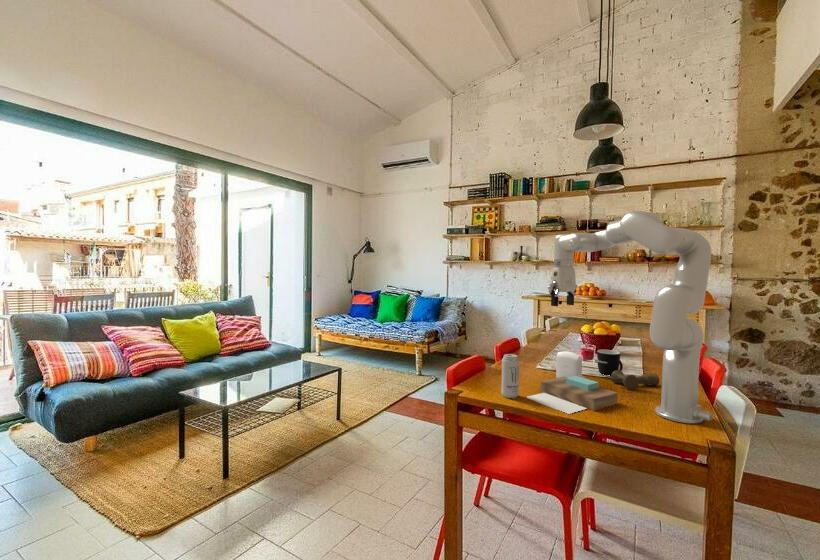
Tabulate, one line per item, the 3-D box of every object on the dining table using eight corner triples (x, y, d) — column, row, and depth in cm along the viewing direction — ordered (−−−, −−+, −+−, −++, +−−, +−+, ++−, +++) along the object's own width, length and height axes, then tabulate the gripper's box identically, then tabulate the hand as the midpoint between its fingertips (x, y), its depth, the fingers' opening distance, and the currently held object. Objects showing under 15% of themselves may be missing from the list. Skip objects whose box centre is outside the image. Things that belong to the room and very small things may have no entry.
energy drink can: (508, 400, 137) (509, 358, 137) (497, 394, 143) (498, 354, 142) (521, 397, 140) (522, 356, 139) (510, 392, 145) (511, 352, 145)
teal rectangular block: (598, 387, 139) (598, 382, 139) (587, 390, 136) (588, 384, 136) (576, 381, 147) (576, 375, 147) (566, 383, 144) (566, 378, 144)
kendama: (664, 390, 151) (616, 390, 149) (646, 383, 161) (601, 383, 158) (665, 375, 151) (617, 375, 149) (647, 369, 161) (602, 369, 158)
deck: (617, 404, 134) (617, 392, 134) (593, 411, 128) (594, 399, 128) (563, 386, 153) (563, 376, 153) (540, 391, 147) (540, 381, 147)
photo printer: (554, 379, 162) (554, 350, 161) (559, 378, 165) (560, 349, 164) (578, 386, 154) (578, 355, 154) (583, 383, 157) (584, 353, 156)
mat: (587, 409, 129) (587, 408, 129) (568, 414, 124) (568, 413, 124) (544, 393, 145) (544, 392, 145) (525, 397, 140) (525, 396, 140)
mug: (592, 372, 174) (592, 350, 173) (608, 371, 176) (609, 349, 175) (612, 380, 162) (613, 356, 162) (630, 378, 164) (630, 355, 164)
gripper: (557, 264, 153) (555, 307, 154) (584, 264, 162) (583, 305, 163) (541, 264, 160) (540, 305, 160) (569, 264, 168) (568, 303, 169)
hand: (562, 305), depth 161 cm, fingers open, 9 cm apart
